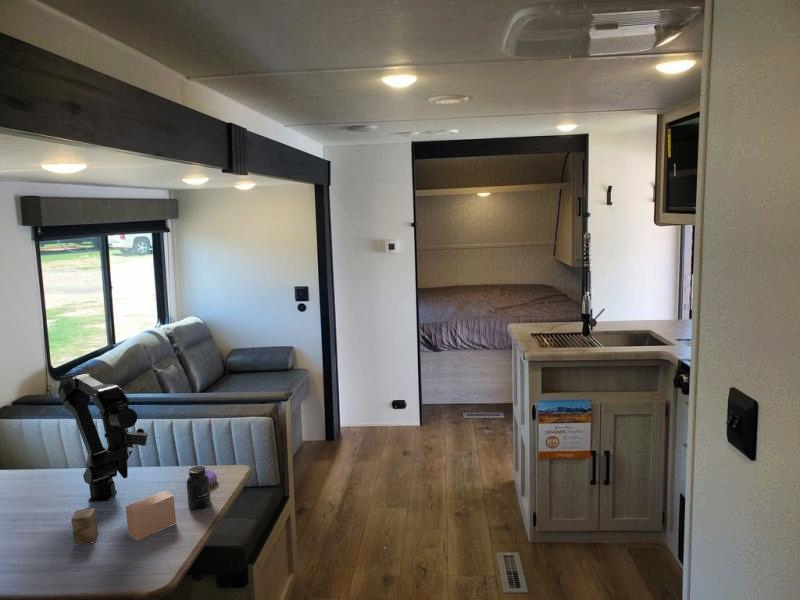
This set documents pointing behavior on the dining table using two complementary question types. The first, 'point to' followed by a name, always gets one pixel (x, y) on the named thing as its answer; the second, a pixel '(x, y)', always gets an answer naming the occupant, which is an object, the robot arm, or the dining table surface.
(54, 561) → the dining table surface
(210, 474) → the donut
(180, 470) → the dining table surface
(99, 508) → the dining table surface
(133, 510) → the terracotta block
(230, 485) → the dining table surface
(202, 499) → the supplement bottle
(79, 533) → the walnut block
